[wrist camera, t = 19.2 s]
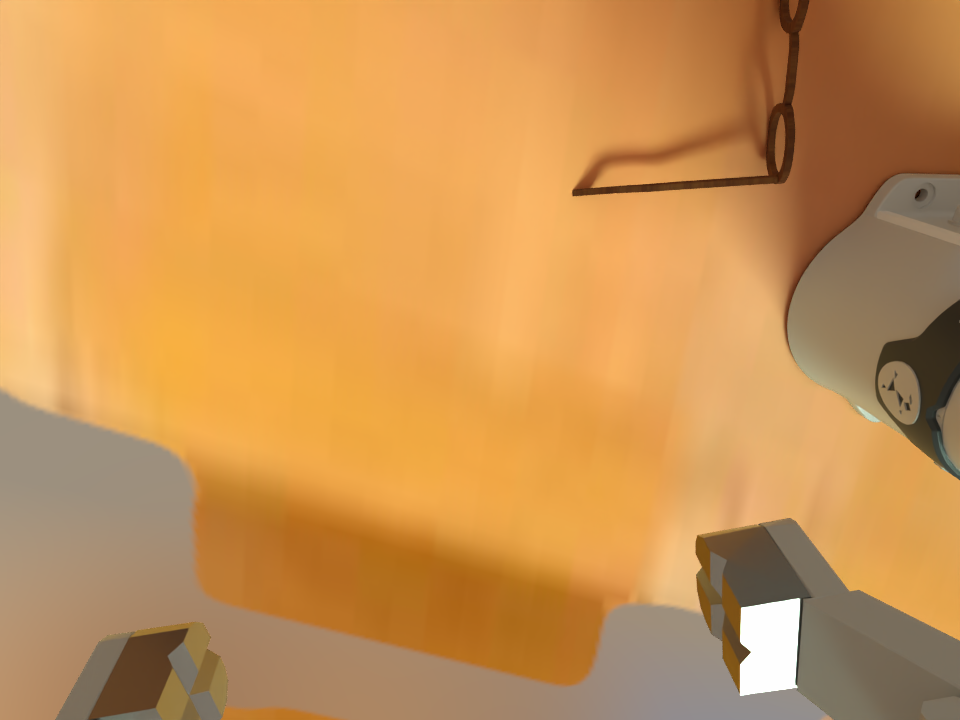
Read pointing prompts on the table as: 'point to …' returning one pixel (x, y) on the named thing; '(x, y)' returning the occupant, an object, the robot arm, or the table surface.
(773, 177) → the glasses
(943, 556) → the table surface
